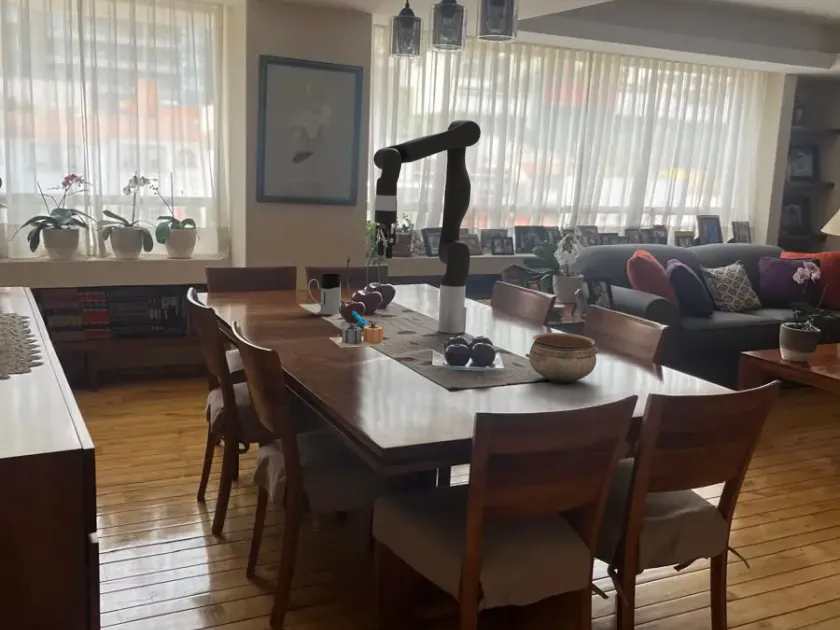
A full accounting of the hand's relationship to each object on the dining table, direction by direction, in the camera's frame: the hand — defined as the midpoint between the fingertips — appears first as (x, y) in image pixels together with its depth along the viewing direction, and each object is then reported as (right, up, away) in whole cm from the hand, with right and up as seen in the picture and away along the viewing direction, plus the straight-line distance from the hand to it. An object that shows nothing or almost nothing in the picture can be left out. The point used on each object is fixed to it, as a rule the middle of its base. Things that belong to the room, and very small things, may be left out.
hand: (384, 256), depth 260 cm
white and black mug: (-26, -19, +45) cm, 55 cm away
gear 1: (-10, -29, -8) cm, 32 cm away
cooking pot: (+52, -39, -41) cm, 77 cm away
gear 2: (-4, -28, -5) cm, 29 cm away
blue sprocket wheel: (-9, -26, +14) cm, 31 cm away
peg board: (-9, -30, -7) cm, 32 cm away
